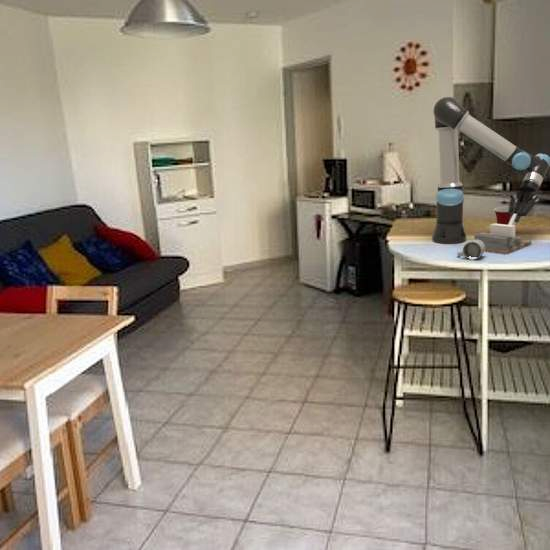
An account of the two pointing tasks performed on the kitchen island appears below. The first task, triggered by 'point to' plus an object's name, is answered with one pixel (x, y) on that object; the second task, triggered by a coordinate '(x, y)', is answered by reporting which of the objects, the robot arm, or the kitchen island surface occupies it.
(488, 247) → the housing
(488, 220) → the kitchen island surface
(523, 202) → the robot arm
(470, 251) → the ceramic mug
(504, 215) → the plastic cup
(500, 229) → the cream rectangular block
